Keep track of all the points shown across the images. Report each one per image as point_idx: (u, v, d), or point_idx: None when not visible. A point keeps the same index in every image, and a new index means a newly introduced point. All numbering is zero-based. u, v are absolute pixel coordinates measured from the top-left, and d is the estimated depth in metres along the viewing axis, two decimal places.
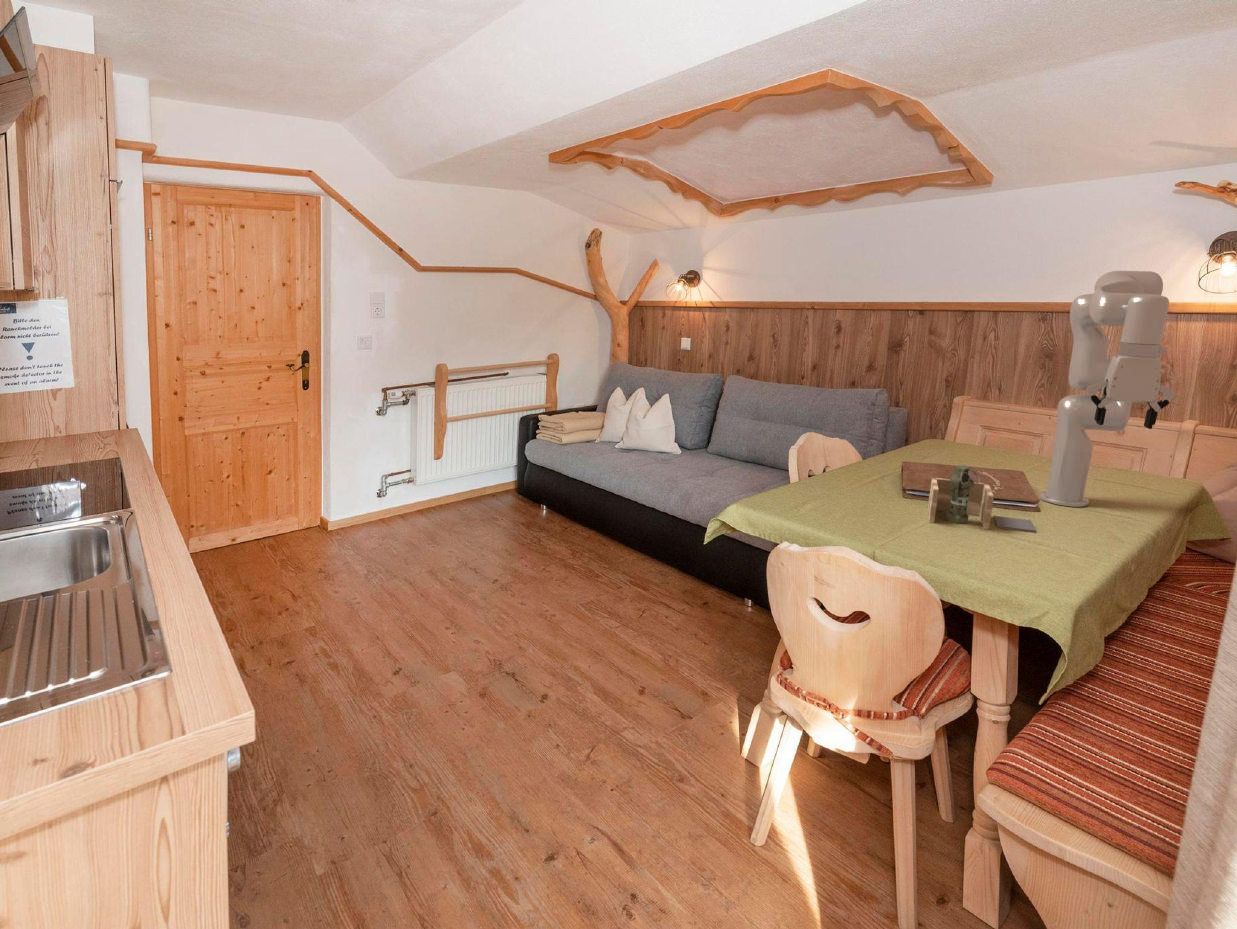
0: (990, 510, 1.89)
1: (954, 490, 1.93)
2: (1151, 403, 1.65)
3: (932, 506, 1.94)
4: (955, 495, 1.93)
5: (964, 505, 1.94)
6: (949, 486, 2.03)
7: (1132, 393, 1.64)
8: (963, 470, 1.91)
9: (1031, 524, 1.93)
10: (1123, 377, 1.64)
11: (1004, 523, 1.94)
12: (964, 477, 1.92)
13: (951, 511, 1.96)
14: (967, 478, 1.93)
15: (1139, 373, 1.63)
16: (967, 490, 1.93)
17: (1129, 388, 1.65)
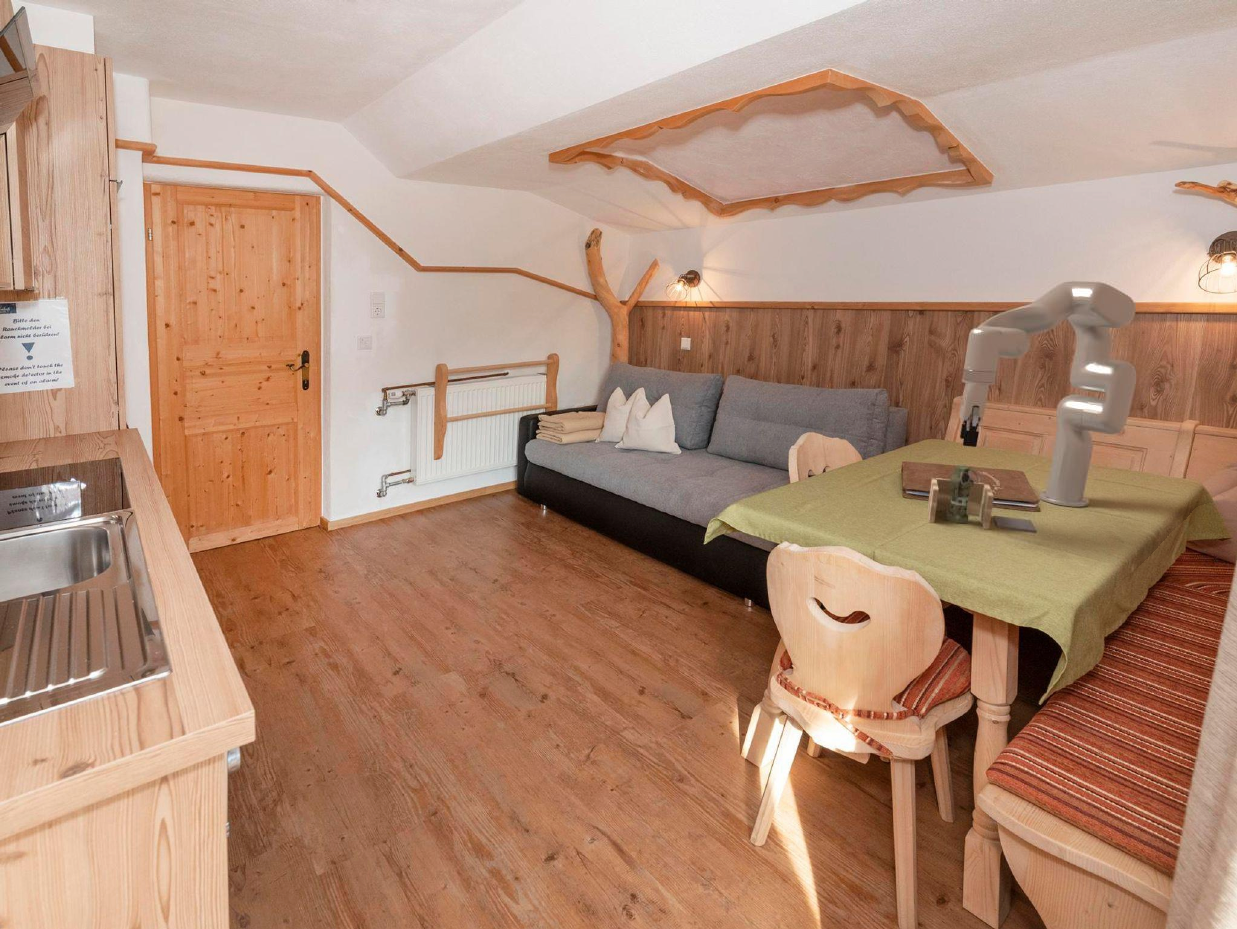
0: (990, 510, 1.89)
1: (954, 490, 1.93)
2: None
3: (932, 506, 1.94)
4: (955, 495, 1.93)
5: (964, 505, 1.94)
6: (949, 486, 2.03)
7: None
8: (963, 470, 1.91)
9: (1031, 524, 1.93)
10: None
11: (1004, 523, 1.94)
12: (964, 477, 1.92)
13: (951, 511, 1.96)
14: (967, 478, 1.93)
15: None
16: (967, 490, 1.93)
17: None
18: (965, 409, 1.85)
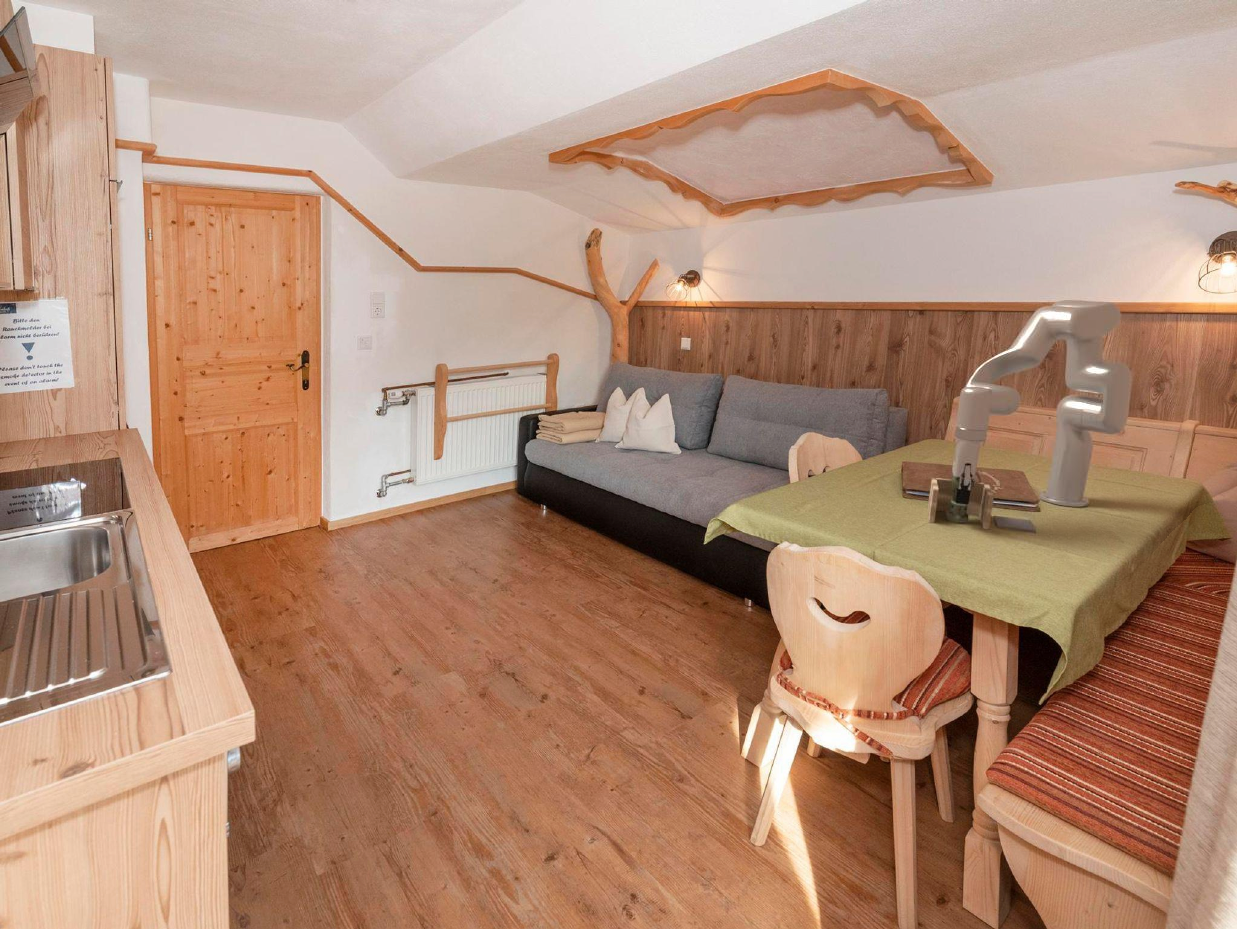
0: (990, 510, 1.89)
1: (955, 490, 1.93)
2: None
3: (932, 506, 1.94)
4: None
5: (964, 505, 1.94)
6: (949, 486, 2.03)
7: None
8: None
9: (1031, 524, 1.93)
10: None
11: (1004, 523, 1.94)
12: None
13: (951, 511, 1.96)
14: None
15: None
16: None
17: None
18: (957, 466, 1.89)
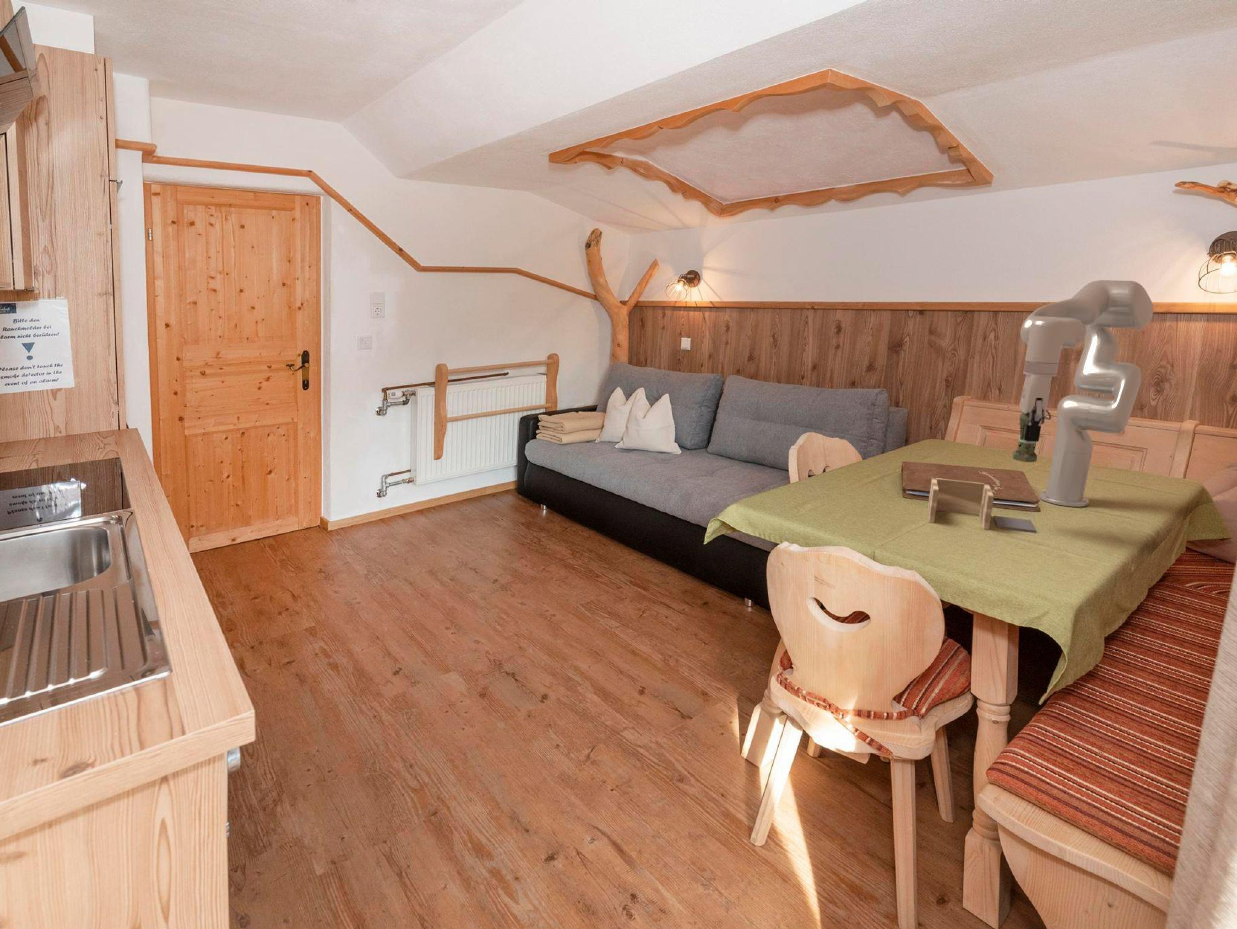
0: (990, 510, 1.89)
1: (1024, 428, 1.86)
2: None
3: (932, 506, 1.94)
4: (1024, 433, 1.86)
5: (1033, 443, 1.88)
6: (949, 486, 2.03)
7: None
8: None
9: (1031, 524, 1.93)
10: None
11: (1004, 523, 1.94)
12: None
13: (1019, 450, 1.90)
14: None
15: None
16: None
17: None
18: (1028, 401, 1.82)
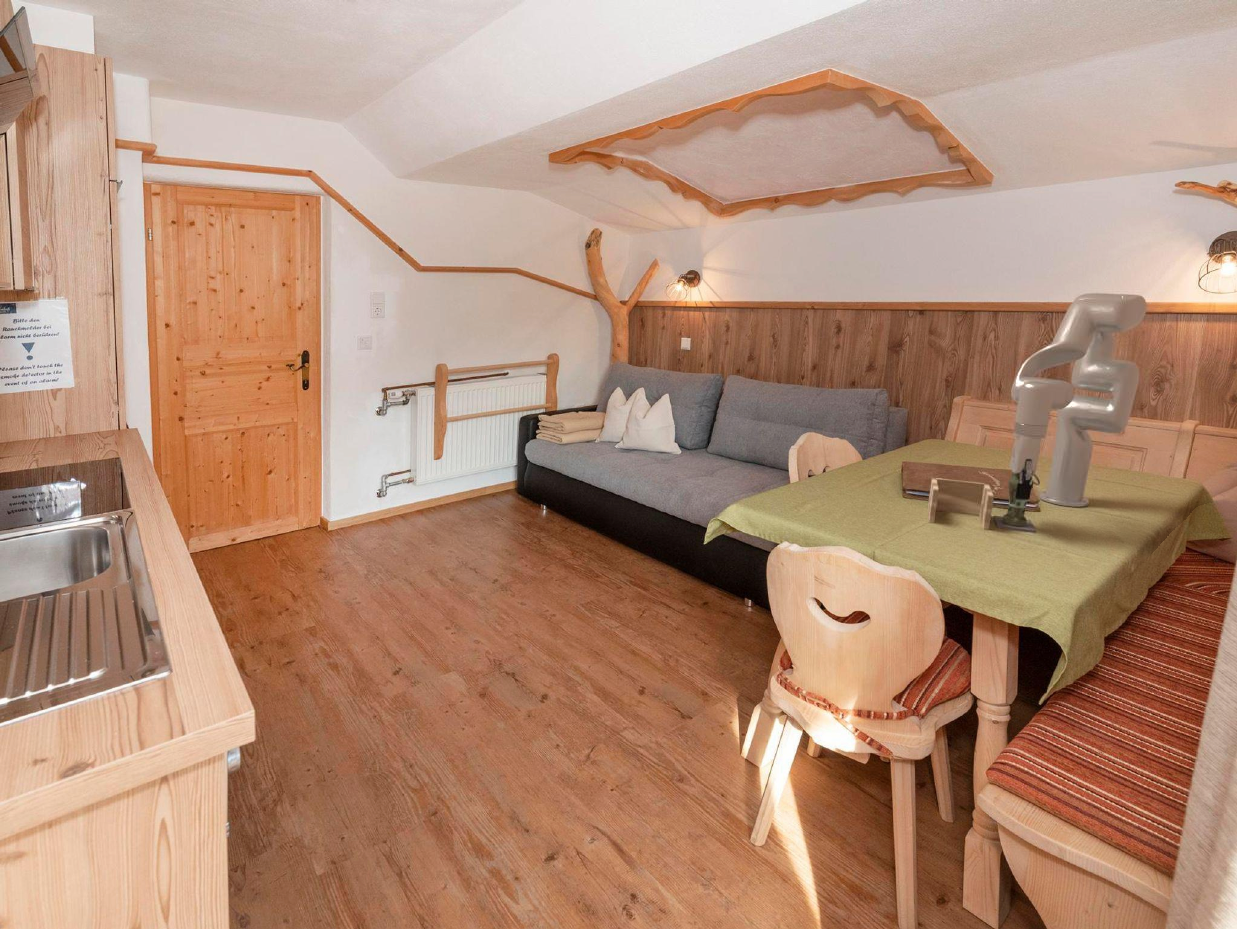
0: (990, 510, 1.89)
1: (1013, 492, 1.90)
2: None
3: (932, 506, 1.94)
4: (1014, 497, 1.90)
5: (1022, 508, 1.91)
6: (949, 486, 2.03)
7: None
8: None
9: (1031, 524, 1.93)
10: None
11: (1004, 523, 1.94)
12: None
13: (1009, 514, 1.93)
14: None
15: None
16: None
17: None
18: (1018, 462, 1.86)
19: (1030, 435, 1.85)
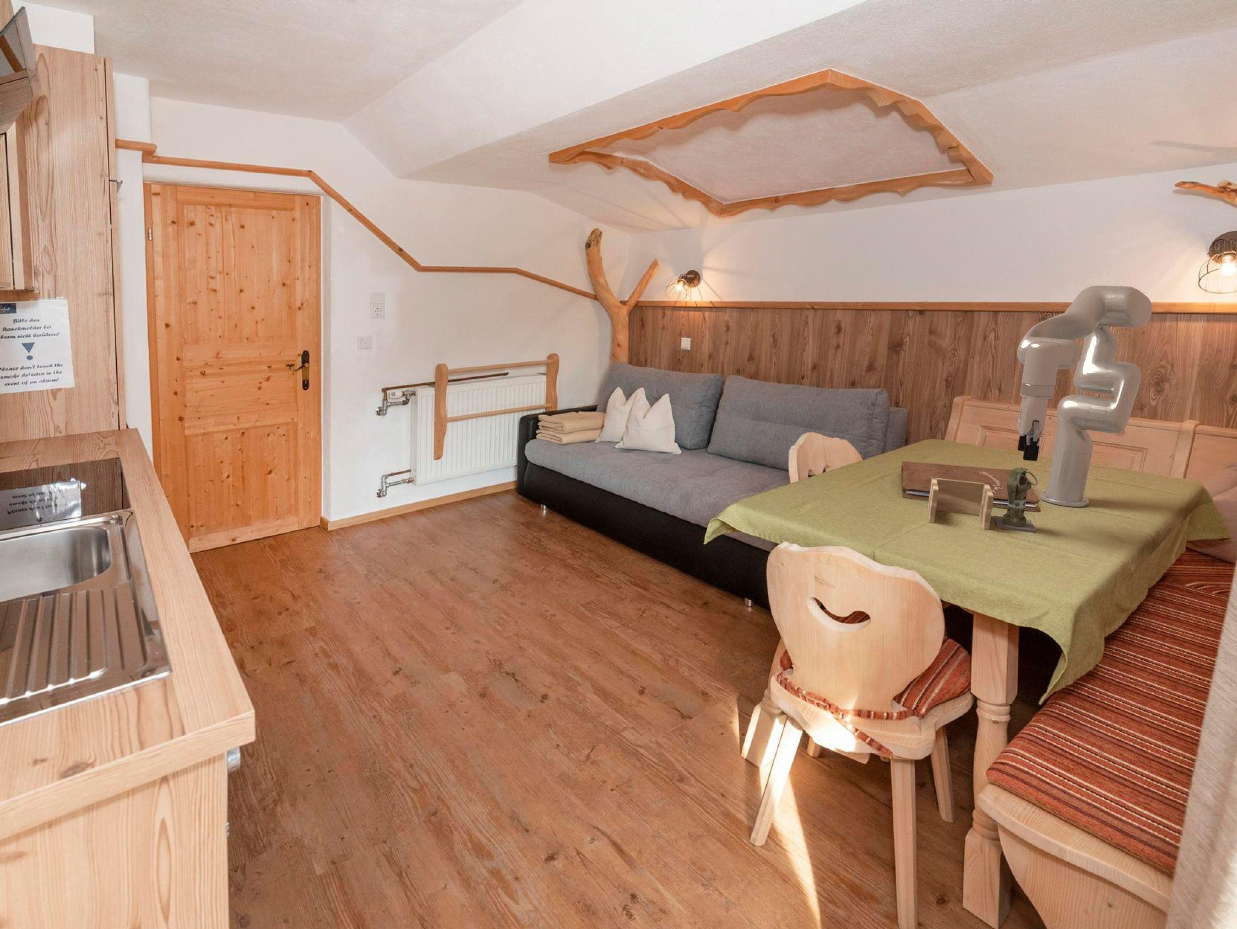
0: (990, 510, 1.89)
1: (1011, 493, 1.89)
2: None
3: (932, 506, 1.94)
4: (1012, 498, 1.90)
5: (1022, 508, 1.91)
6: (949, 486, 2.03)
7: None
8: (1020, 473, 1.87)
9: (1031, 524, 1.93)
10: None
11: (1004, 523, 1.94)
12: (1021, 480, 1.88)
13: (1008, 514, 1.93)
14: (1024, 480, 1.89)
15: None
16: (1024, 493, 1.90)
17: None
18: (1025, 424, 1.84)
19: (1037, 396, 1.82)
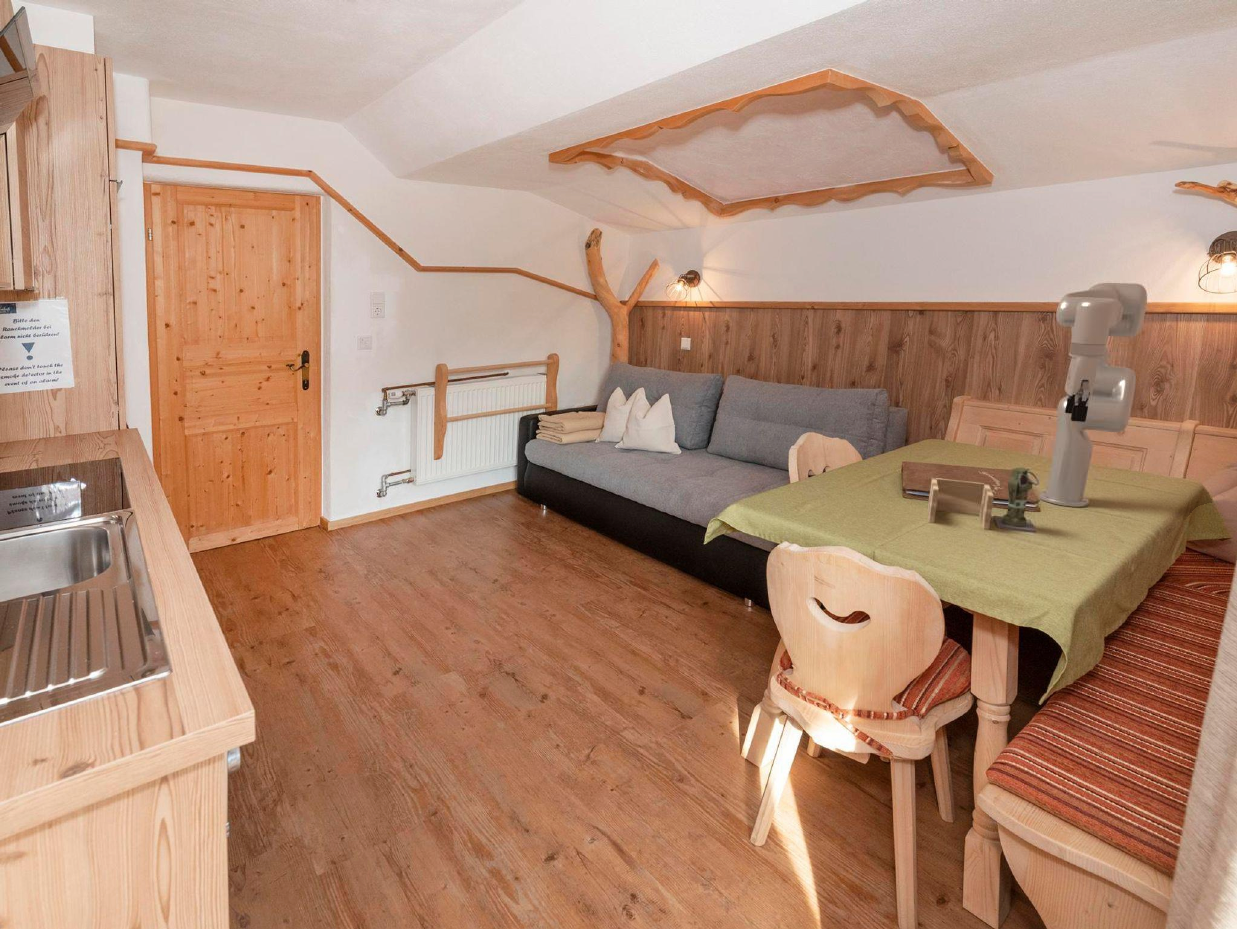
0: (990, 510, 1.89)
1: (1012, 492, 1.90)
2: None
3: (932, 506, 1.94)
4: (1013, 498, 1.90)
5: (1022, 508, 1.91)
6: (949, 486, 2.03)
7: None
8: (1021, 472, 1.88)
9: (1031, 524, 1.93)
10: None
11: (1004, 523, 1.94)
12: (1022, 479, 1.89)
13: (1008, 514, 1.93)
14: (1025, 480, 1.90)
15: None
16: (1025, 492, 1.90)
17: None
18: (1073, 384, 1.82)
19: (1087, 355, 1.80)
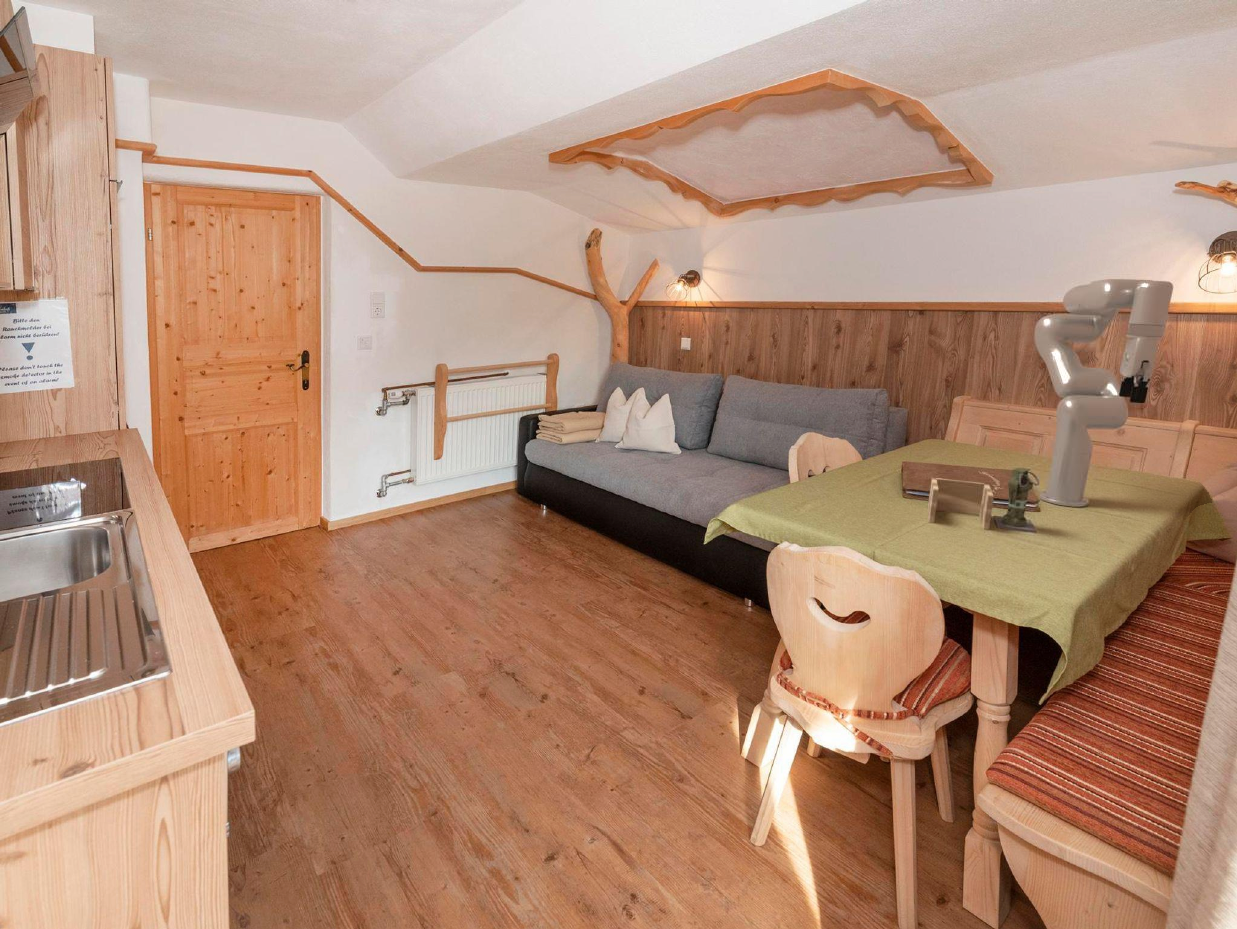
0: (990, 510, 1.89)
1: (1012, 493, 1.90)
2: None
3: (932, 506, 1.94)
4: (1013, 498, 1.90)
5: (1022, 508, 1.91)
6: (949, 486, 2.03)
7: None
8: (1022, 472, 1.88)
9: (1031, 524, 1.93)
10: None
11: (1004, 523, 1.94)
12: (1023, 479, 1.89)
13: (1008, 514, 1.93)
14: (1026, 481, 1.89)
15: None
16: (1026, 493, 1.90)
17: None
18: (1133, 364, 1.80)
19: (1147, 335, 1.79)
